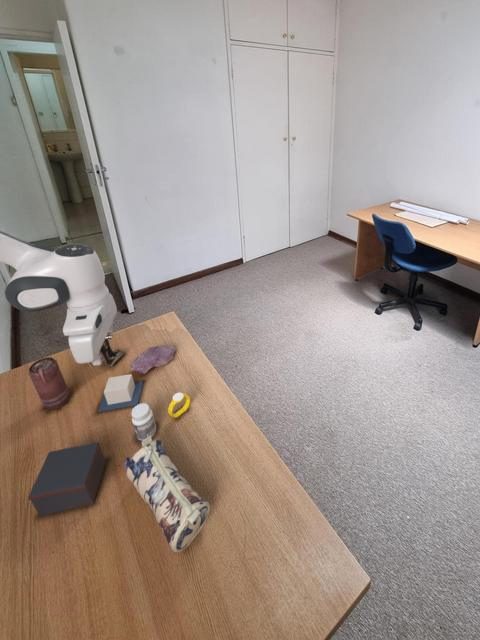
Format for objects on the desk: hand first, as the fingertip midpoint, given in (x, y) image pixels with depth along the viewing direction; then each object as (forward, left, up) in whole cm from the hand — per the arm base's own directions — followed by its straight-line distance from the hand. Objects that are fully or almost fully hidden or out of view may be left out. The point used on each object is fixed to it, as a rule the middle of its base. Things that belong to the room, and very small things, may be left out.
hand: (104, 349), depth 85 cm
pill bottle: (+10, -13, -18) cm, 24 cm away
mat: (+1, 0, -18) cm, 18 cm away
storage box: (-3, -23, -18) cm, 29 cm away
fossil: (+8, +11, -18) cm, 22 cm away
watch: (+18, -9, -18) cm, 27 cm away
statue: (-5, +15, -18) cm, 24 cm away
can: (-16, +2, -18) cm, 24 cm away
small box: (+1, 0, -17) cm, 17 cm away
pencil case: (+18, -31, -18) cm, 40 cm away
